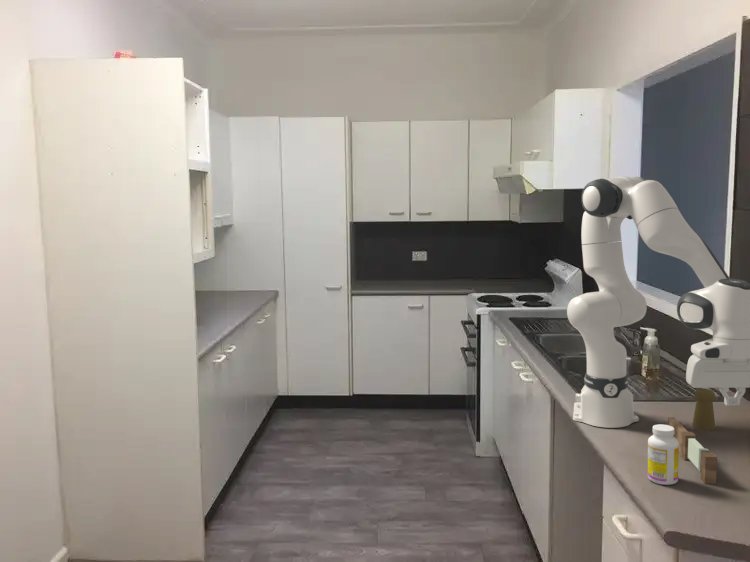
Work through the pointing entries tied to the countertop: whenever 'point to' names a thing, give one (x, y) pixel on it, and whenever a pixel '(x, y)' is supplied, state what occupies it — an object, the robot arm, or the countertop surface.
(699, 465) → the pale green flat block
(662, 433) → the supplement bottle
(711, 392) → the cork
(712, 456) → the fence
